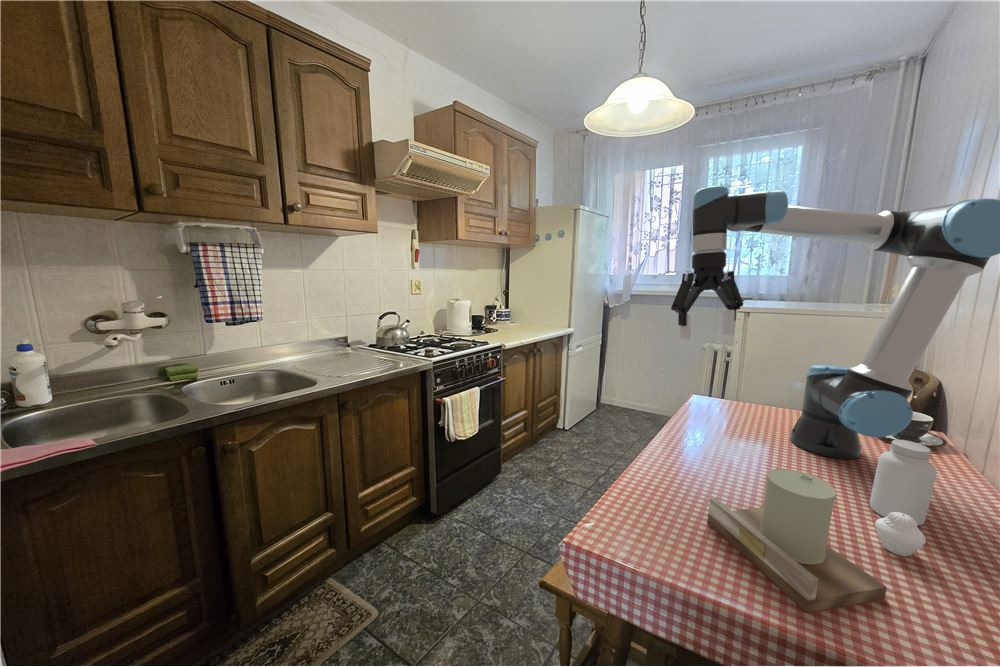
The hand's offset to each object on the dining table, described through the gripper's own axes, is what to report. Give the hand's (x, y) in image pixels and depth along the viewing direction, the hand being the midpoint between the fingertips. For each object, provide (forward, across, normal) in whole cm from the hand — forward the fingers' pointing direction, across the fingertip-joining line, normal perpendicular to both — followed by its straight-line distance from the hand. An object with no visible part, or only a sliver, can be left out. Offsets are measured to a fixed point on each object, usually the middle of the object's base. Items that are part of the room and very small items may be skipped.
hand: (707, 336), depth 99 cm
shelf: (+33, +16, +34) cm, 50 cm away
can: (+31, +15, +34) cm, 49 cm away
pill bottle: (+34, -17, +31) cm, 50 cm away
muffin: (+34, -5, +38) cm, 51 cm away
